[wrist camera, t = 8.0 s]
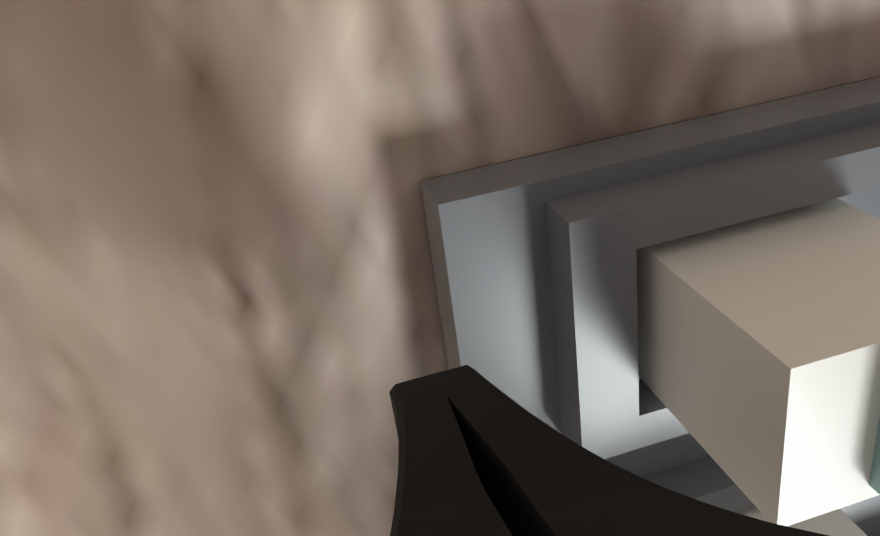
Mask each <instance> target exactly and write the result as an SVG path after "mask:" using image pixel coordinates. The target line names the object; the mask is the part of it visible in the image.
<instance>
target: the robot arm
mask: <svg viewBox="0 0 880 536" xmlns="http://www.w3.org/2000/svg"><path fill="white" fill-rule="evenodd" d="M390 397H391V402H392V407H393V412H394V417H395V423H396V428H397V433H398V438H399V463H398V480H397V490H396V500H395V509H394V516H393V522H392V528H391V534H390V536H829V535H824V534H820V533H815V532H811V531H806V530H802V529H797V528H792V527H788V526H783V525H779V524H774V523H770V522H767V521H763V520H759V519H756V518H753V517H749V516H746V515H742V514H739V513H735V512H732V511H728V510H725V509H722V508H719V507H716V506H713V505H710V504H707V503H704V502H701V501H698V500H696V499H693V498H691V497H688V496H685V495H683V494H680V493H678V492H675V491H672V490H670V489H667V488H665V487H662V486H660V485H657V484H655V483H653V482H650V481H648V480H646V479H644V478H641V477H639V476H637V475H635V474H633V473H631V472H629V471H627V470H625V469H623V468H621V467H619V466H617V465H614V464H612V463H610V462H608V461H606V460H605V459H603V458H601V457H599V456H597V455H596V454H594V453H592V452H590V451H589V450H587V449H585V448H584V447H582V446H580V445H579V444H577V443H575V442H574V441H572V440H570V439H569V438H567V437H566V436H564V435H563V434H561V433H560V432H558V431H556V430H555V429H553V428H552V427H551V426H549V425H548V424H546V423H545V422H543V421H542V420H540V419H539V418H537V417H536V416H534V415H533V414H532V413H530V412H529V411H527V410H526V409H525V408H523V407H522V406H520V405H519V404H518V403H516V402H515V401H514V400H512V399H511V398H510V397H509V396H507V395H506V394H505V393H503V392H502V391H501V390H499V389H498V388H497V387H496V386H494V385H493V384H492V383H491V382H489V381H488V380H487V379H486V378H484V377H483V376H482V375H481V374H479V373H478V372H477V371H476V370H475V369H473V368H472V367H470V366H468V365H464V366H460V367H457V368H453V369H450V370H446V371H442V372H439V373H435V374H431V375H428V376H424V377H420V378H417V379H413V380H409V381H406V382H402V383H398V384H395V385H394V387H393V388H392V389H391V391H390Z"/></svg>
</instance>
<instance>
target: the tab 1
mask: <svg viewBox="0 0 880 536" xmlns="http://www.w3.org/2000/svg"><path fill="white" fill-rule="evenodd" d="M636 259H637V317H638V375H639V377H640V378H641V379H642V381H643V382H644V383H645V384H646V385H647V386H648V387H649V388H650V389H651V391H652V392H653V393H654V394H655V395H656V396H657V397H658V398H659V399H660V401H661V402H662V403H663V404H664V405H665V406H666V407H667V408H668V409H669V411H670V412H671V413H672V414H673V415H674V416H675V417H676V418H677V419H678V421H679V422H680V423H681V424H682V425H683V426H684V427H685V428H686V429H687V431H688V432H689V433H690V434H691V435H692V436H693V437H694V438H695V440H696V441H697V442H698V443H699V444H700V445H701V446H702V447H703V448H704V450H705V451H706V452H707V453H708V454H709V455H710V456H711V457H712V458H713V460H714V461H715V462H716V463H717V464H718V465H719V466H720V467H721V468H722V470H723V471H724V472H725V473H726V474H727V475H728V476H729V477H730V478H731V480H732V481H733V482H734V483H735V484H736V485H737V486H738V487H739V488H740V490H741V491H742V492H743V493H744V494H745V495H746V496H747V497H748V498H749V500H750V501H751V502H752V503H753V504H754V505H755V506H756V507H757V509H758V510H759V511H760V512H761V513H762V514H763V515H764V516H765V517H766V519H767V520H768V521H769V522H770V523H774V524H779V525H783V526H789V525H792V524H795V523H798V522H801V521H804V520H807V519H810V518H813V517H816V516H819V515H822V514H825V513H828V512H831V511H834V510H837V509H840V508H843V507H846V506H849V505H852V504H854V503H857V502H860V501H863V500H866V499H869V498H872V497H875V496H878V495H880V219H878V218H876V217H874V216H872V215H870V214H868V213H866V212H864V211H862V210H860V209H858V208H856V207H854V206H852V205H850V204H848V203H846V202H844V201H842V200H840V199H838V198H834V199H830V200H827V201H823V202H819V203H815V204H811V205H807V206H803V207H799V208H795V209H791V210H788V211H784V212H780V213H776V214H772V215H768V216H764V217H760V218H756V219H752V220H749V221H745V222H741V223H737V224H733V225H729V226H725V227H721V228H717V229H713V230H710V231H706V232H702V233H698V234H694V235H690V236H686V237H682V238H678V239H674V240H671V241H667V242H663V243H659V244H655V245H651V246H647V247H643V248H639V249H636Z"/></svg>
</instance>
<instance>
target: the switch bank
mask: <svg viewBox="0 0 880 536" xmlns="http://www.w3.org/2000/svg"><path fill="white" fill-rule="evenodd" d="M420 184H421V191H422V197H423V204H424V211H425V217H426V224H427V231H428V237H429V244H430V251H431V257H432V264H433V271H434V278H435V284H436V291H437V298H438V304H439V311H440V318H441V324H442V331H443V338H444V344H445V351H446V358H447V364H448V370H450V369H453V368H457V367H460V366H464V365H468V366H470V367H472V368H473V369H475V370H476V371H477V372H478V373H479V374H481V375H482V376H483V377H484V378H486V379H487V380H488V381H489V382H491V383H492V384H493V385H494V386H496V387H497V388H498V389H499V390H501V391H502V392H503V393H505V394H506V395H507V396H509V397H510V398H511V399H512V400H514V401H515V402H516V403H518V404H519V405H520V406H522V407H523V408H525V409H526V410H527V411H529V412H530V413H532V414H533V415H534V416H536V417H537V418H539V419H540V420H542V421H543V422H545V423H546V424H548V425H549V426H551V427H552V428H553V429H555V430H556V431H558V432H560V433H561V434H563V435H564V436H566V437H567V438H569V439H570V440H572V441H574V442H575V443H577V444H579V445H580V446H582V447H584V448H585V449H587V450H589V451H590V452H592V453H594V454H596V455H597V456H599V457H601V458H603V459H605V460H606V461H608V462H610V463H612V464H614V465H617V466H619V467H621V468H623V469H625V470H627V471H629V472H631V473H633V474H635V475H637V476H639V477H641V478H644V479H646V480H648V481H650V482H653V483H655V484H657V485H660V486H662V487H665V488H667V489H670V490H672V491H675V492H678V493H680V494H683V495H685V496H688V497H691V498H693V499H696V500H698V501H701V502H704V503H707V504H710V505H713V506H716V507H719V508H722V509H725V510H728V511H732V512H735V513H736V512H739V511H742V510H745V509H748V508H751V507H754V506H755V505H754V504H753V503H752V502H751V501H750V500H749V498H748V497H747V496H746V495H745V494H744V493H743V492H742V491H741V490H740V488H739V487H738V486H737V485H736V484H735V483H734V482H733V481H732V480H731V478H730V477H729V476H728V475H727V474H726V473H725V472H724V471H723V470H722V468H721V467H720V466H719V465H718V464H717V463H716V462H715V461H714V460H713V458H712V457H711V456H710V455H709V454H708V453H707V452H706V451H705V450H704V448H703V447H702V446H701V445H700V444H699V443H698V442H697V441H696V440H695V438H694V437H693V436H692V435H691V434H690V433H689V432H688V431H687V429H686V428H685V427H684V426H683V425H682V424H681V423H680V422H679V421H678V419H677V418H676V417H675V416H674V415H673V414H672V413H671V412H670V411H669V409H668V408H667V407H666V406H665V405H664V404H663V403H662V402H661V401H660V399H659V398H658V397H657V396H656V395H655V394H654V393H653V392H652V391H651V389H650V388H649V387H648V386H647V385H646V384H645V383H644V382H643V381H642V379H641V378H640V377H639V375H638V317H637V259H636V249H639V248H643V247H647V246H651V245H655V244H659V243H663V242H667V241H671V240H674V239H678V238H682V237H686V236H690V235H694V234H698V233H702V232H706V231H710V230H713V229H717V228H721V227H725V226H729V225H733V224H737V223H741V222H745V221H749V220H752V219H756V218H760V217H764V216H768V215H772V214H776V213H780V212H784V211H788V210H791V209H795V208H799V207H803V206H807V205H811V204H815V203H819V202H823V201H827V200H830V199H834V198H838V199H840V200H842V201H844V202H846V203H848V204H850V205H852V206H854V207H856V208H858V209H860V210H862V211H864V212H866V213H868V214H870V215H872V216H874V217H876V218H878V219H880V77H876V78H872V79H867V80H863V81H858V82H854V83H850V84H845V85H841V86H836V87H832V88H828V89H823V90H819V91H814V92H810V93H806V94H801V95H797V96H792V97H788V98H784V99H779V100H775V101H770V102H766V103H762V104H757V105H753V106H748V107H744V108H740V109H735V110H731V111H726V112H722V113H718V114H713V115H709V116H704V117H700V118H696V119H691V120H687V121H683V122H678V123H674V124H669V125H665V126H661V127H656V128H652V129H647V130H643V131H639V132H634V133H630V134H625V135H621V136H617V137H612V138H608V139H603V140H599V141H595V142H590V143H586V144H581V145H577V146H573V147H568V148H564V149H559V150H555V151H551V152H546V153H542V154H537V155H533V156H529V157H524V158H520V159H515V160H511V161H507V162H502V163H498V164H493V165H489V166H485V167H480V168H476V169H471V170H467V171H463V172H458V173H454V174H449V175H445V176H441V177H436V178H432V179H428V180H423V181H420ZM840 510H842V511H843V512H844V513H845V514H846V515H847V516H848V517H849V518H850V519H851V520H852V521H853V522H854V523H855V524H856V525H857V526H858V527H859V528H860V529H861V530H862V531H863V532H864V533H865V534H866V535H867V536H880V495H878V496H875V497H872V498H869V499H866V500H863V501H860V502H857V503H854V504H852V505H849V506H846V507H843V508H840Z"/></svg>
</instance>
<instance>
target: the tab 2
mask: <svg viewBox="0 0 880 536" xmlns="http://www.w3.org/2000/svg"><path fill="white" fill-rule="evenodd" d="M736 513H739V514H742V515H746V516H749V517H753V518H756V519H759V520H763V521H767V522H769V521H768V520H767V519H766V517H765V516H764V515H763V514H762V513H761V512H760V511H759V510H758V509H757V507H756V506H754V507H751V508H748V509H745V510H742V511H739V512H736ZM788 527H792V528H797V529H802V530H806V531H811V532H815V533H820V534H824V535H829V536H867V535H866V534H865V533H864V532H863V531H862V530H861V529H860V528H859V527H858V526H857V525H856V524H855V523H854V522H853V521H852V520H851V519H850V518H849V517H848V516H847V515H846V514H845V513H844V512H843V511H842V510H840V509H837V510H834V511H831V512H828V513H825V514H822V515H819V516H816V517H813V518H810V519H807V520H804V521H801V522H798V523H795V524H792V525H789V526H788Z"/></svg>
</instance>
